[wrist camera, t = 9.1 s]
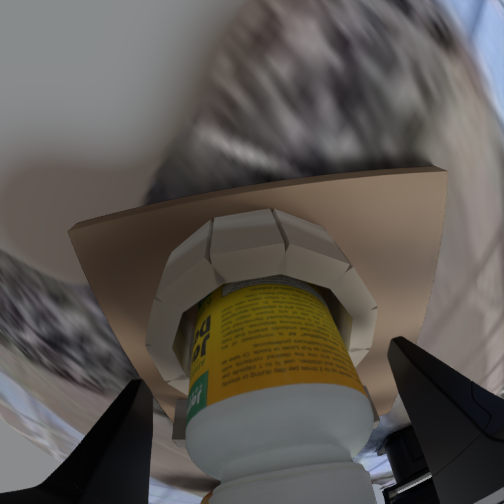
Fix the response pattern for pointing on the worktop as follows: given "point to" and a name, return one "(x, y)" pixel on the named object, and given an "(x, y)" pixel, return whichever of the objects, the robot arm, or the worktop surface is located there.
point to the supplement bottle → (276, 398)
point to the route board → (270, 266)
